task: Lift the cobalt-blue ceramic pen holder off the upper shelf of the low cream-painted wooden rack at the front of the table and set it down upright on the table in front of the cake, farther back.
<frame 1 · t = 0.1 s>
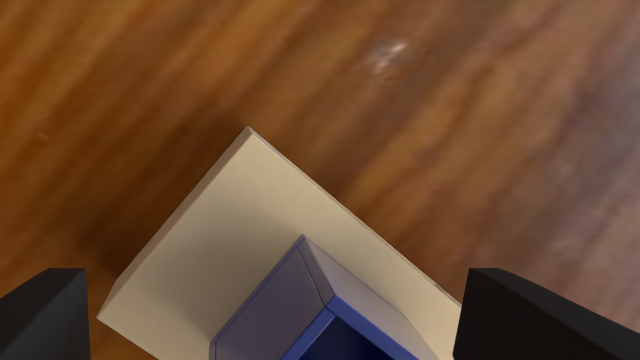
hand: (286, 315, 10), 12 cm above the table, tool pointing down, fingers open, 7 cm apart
holder: (309, 328, 19), point 3 cm above the table, touching shelf
shelf: (296, 291, 23), on the table
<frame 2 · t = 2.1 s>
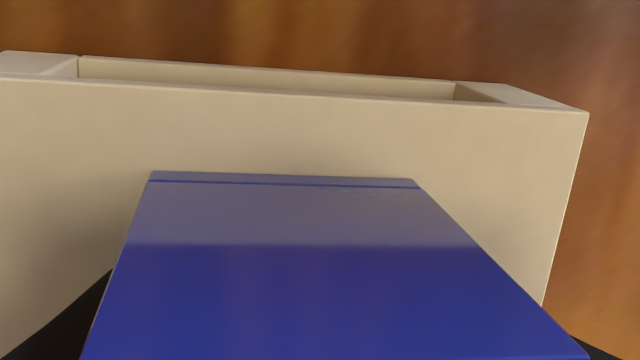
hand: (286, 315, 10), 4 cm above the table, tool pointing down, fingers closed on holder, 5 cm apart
holder: (279, 290, 11), point 3 cm above the table, touching gripper, shelf
shelf: (267, 221, 14), on the table
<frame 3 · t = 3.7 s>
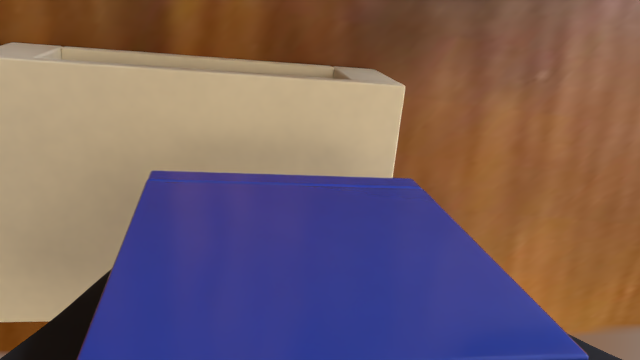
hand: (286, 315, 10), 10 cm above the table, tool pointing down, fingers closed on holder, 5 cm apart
holder: (278, 290, 11), point 9 cm above the table, touching gripper
shelf: (201, 169, 20), on the table
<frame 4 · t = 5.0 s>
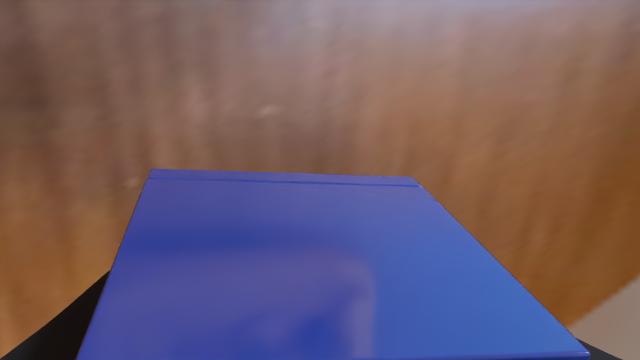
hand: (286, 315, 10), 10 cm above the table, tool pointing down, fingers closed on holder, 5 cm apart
holder: (279, 288, 11), point 9 cm above the table, touching gripper
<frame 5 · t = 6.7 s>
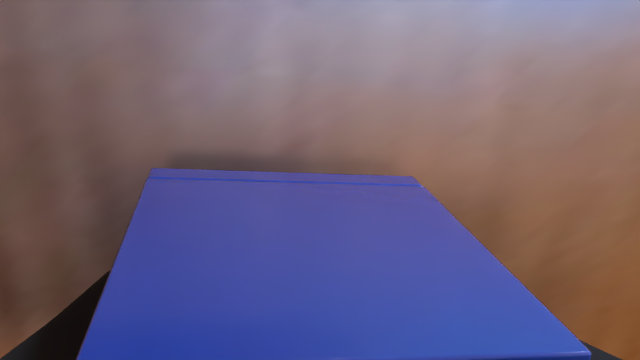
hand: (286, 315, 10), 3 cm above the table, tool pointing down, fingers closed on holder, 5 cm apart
holder: (279, 288, 11), point 2 cm above the table, touching gripper
when the fingers open (1 cm above the table, at t = 7.9 s): holder stays where it is, on the table.
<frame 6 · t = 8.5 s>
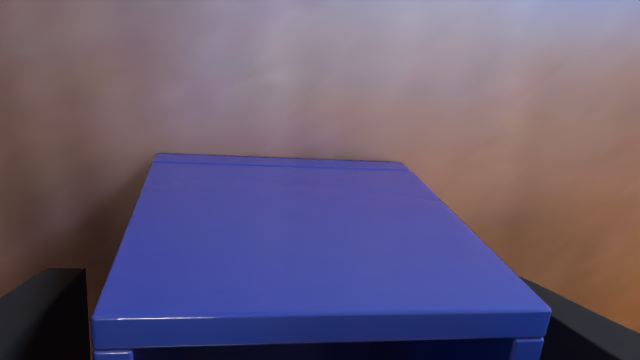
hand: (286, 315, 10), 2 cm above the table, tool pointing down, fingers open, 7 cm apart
holder: (276, 268, 12), on the table
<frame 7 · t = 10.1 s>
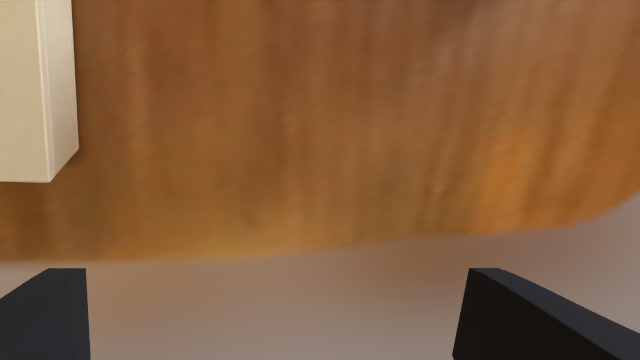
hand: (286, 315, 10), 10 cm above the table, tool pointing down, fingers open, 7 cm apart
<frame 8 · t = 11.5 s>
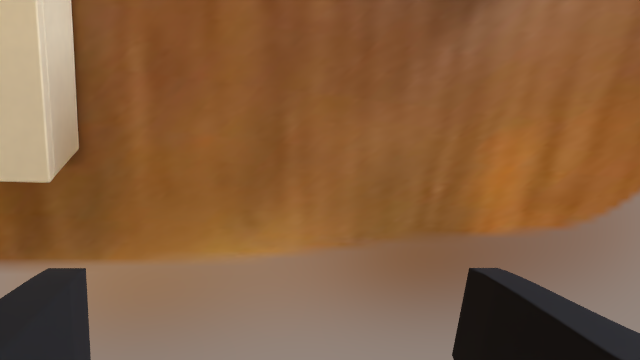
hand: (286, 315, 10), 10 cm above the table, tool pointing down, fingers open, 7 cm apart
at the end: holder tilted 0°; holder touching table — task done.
